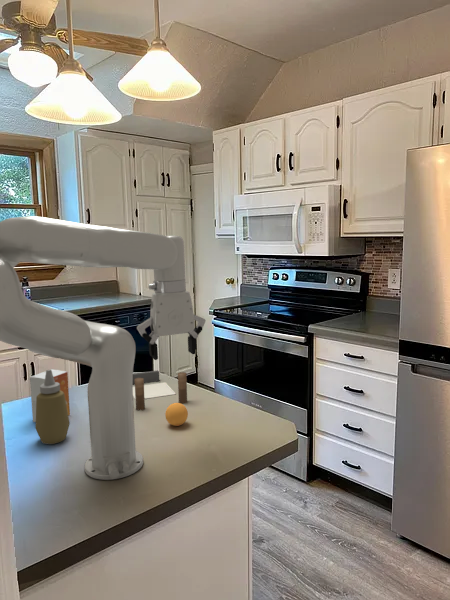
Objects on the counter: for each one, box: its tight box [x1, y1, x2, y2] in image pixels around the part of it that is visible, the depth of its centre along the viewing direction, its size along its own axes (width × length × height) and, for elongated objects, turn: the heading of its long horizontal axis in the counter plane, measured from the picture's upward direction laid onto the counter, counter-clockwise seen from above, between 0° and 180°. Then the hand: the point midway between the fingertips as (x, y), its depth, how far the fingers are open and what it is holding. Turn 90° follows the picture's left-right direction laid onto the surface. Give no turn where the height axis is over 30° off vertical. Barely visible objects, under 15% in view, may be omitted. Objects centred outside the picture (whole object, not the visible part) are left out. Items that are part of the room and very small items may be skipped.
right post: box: [177, 371, 188, 405], centre depth 140 cm, size 3×3×9 cm
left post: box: [134, 378, 146, 411], centre depth 135 cm, size 3×3×9 cm
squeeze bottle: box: [35, 369, 71, 445], centre depth 115 cm, size 8×8×18 cm
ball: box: [164, 402, 189, 427], centre depth 123 cm, size 6×6×6 cm
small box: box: [29, 368, 71, 423], centre depth 129 cm, size 8×6×13 cm
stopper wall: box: [133, 370, 160, 386], centre depth 160 cm, size 2×10×4 cm, turn 112°
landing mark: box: [133, 381, 176, 401], centre depth 151 cm, size 13×13×1 cm
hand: (173, 355), depth 114 cm, fingers open, 9 cm apart
